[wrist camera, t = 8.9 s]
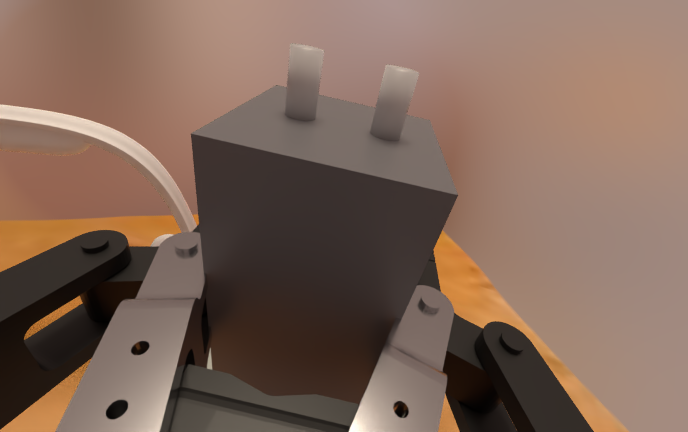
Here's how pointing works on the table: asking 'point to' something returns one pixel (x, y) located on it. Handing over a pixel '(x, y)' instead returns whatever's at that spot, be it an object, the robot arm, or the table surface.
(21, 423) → the table surface
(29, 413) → the table surface
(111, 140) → the headset
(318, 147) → the charger block
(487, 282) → the table surface
